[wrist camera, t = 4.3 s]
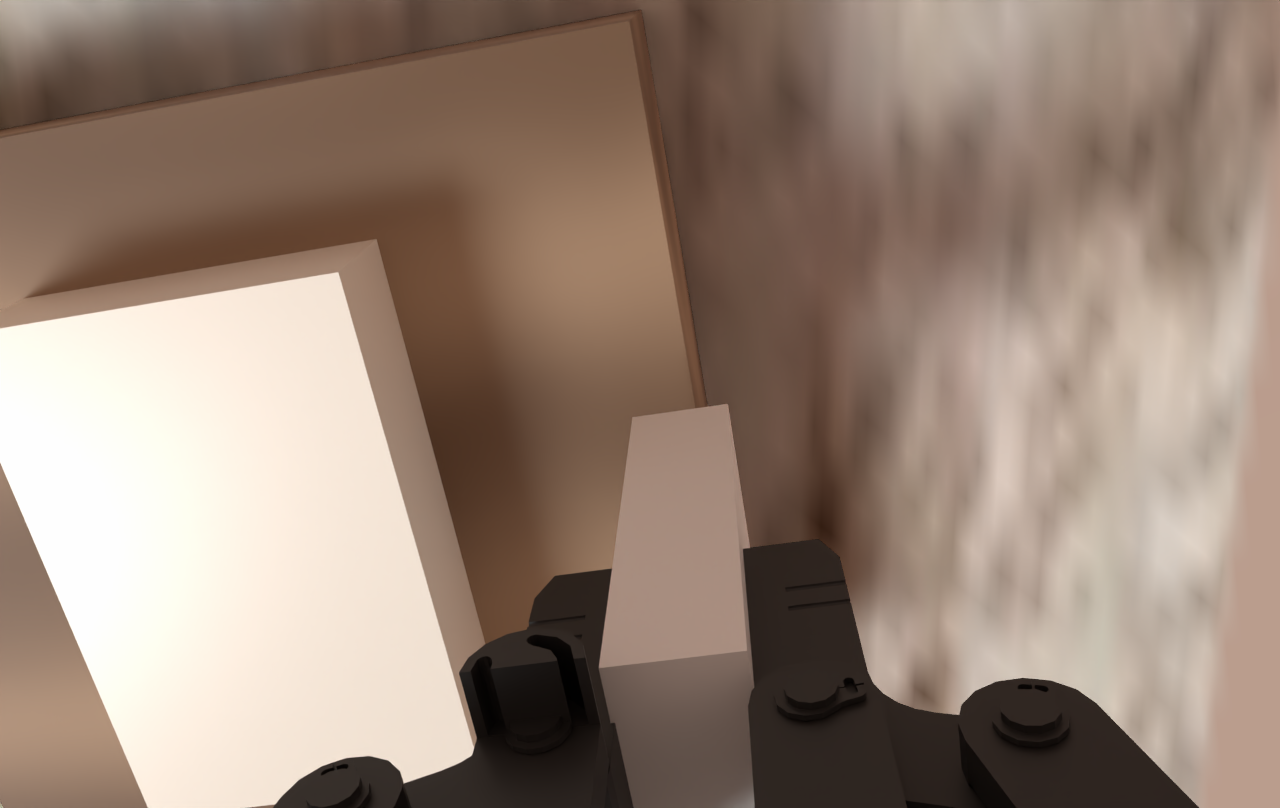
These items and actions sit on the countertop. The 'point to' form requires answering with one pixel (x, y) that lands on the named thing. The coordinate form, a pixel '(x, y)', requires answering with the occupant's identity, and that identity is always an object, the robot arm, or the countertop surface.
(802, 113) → the countertop surface
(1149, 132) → the countertop surface
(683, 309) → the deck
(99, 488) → the cream rectangular block
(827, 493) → the countertop surface
